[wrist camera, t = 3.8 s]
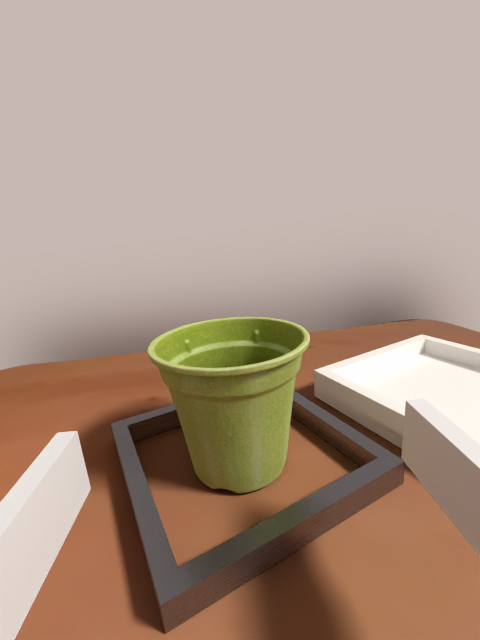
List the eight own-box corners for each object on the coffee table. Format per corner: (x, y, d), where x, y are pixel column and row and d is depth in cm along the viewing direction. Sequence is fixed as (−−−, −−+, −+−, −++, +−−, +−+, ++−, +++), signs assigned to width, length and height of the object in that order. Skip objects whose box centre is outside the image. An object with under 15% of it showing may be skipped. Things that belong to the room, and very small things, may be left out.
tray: (314, 395, 29) (314, 370, 28) (419, 356, 35) (421, 334, 35) (519, 520, 16) (528, 478, 15) (625, 421, 22) (634, 388, 22)
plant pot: (149, 449, 23) (130, 335, 21) (258, 406, 28) (252, 308, 25) (204, 554, 15) (183, 390, 13) (343, 471, 20) (346, 337, 17)
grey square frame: (114, 440, 24) (110, 423, 24) (269, 388, 30) (268, 374, 30) (165, 633, 12) (160, 605, 12) (403, 483, 18) (405, 461, 18)
